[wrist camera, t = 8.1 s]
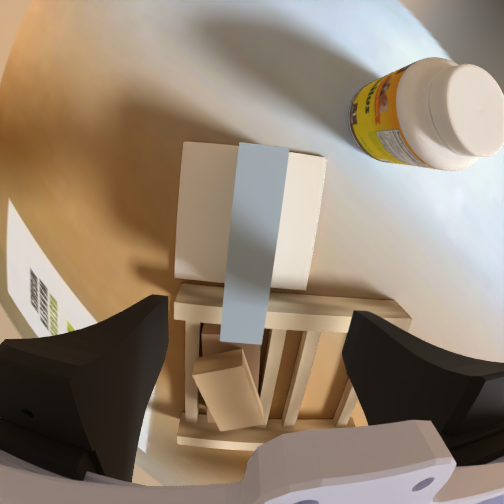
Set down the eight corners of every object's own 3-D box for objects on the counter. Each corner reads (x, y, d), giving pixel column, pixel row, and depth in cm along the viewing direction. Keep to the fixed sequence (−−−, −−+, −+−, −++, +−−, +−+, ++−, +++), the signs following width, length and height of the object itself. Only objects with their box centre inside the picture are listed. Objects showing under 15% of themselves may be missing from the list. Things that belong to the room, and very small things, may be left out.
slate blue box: (225, 283, 21) (219, 341, 15) (240, 146, 19) (239, 142, 12) (255, 286, 22) (261, 344, 15) (272, 150, 19) (289, 148, 12)
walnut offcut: (209, 403, 26) (207, 422, 23) (204, 317, 23) (201, 334, 21) (254, 404, 26) (256, 423, 24) (259, 318, 23) (260, 335, 21)
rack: (182, 420, 26) (177, 444, 23) (182, 283, 22) (174, 302, 19) (348, 425, 27) (356, 447, 24) (395, 300, 23) (412, 318, 20)
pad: (175, 275, 22) (174, 277, 21) (184, 141, 19) (183, 141, 19) (304, 288, 22) (305, 290, 22) (325, 157, 19) (327, 157, 19)
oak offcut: (221, 413, 23) (220, 431, 21) (195, 357, 21) (192, 375, 19) (262, 406, 23) (264, 424, 21) (242, 348, 21) (242, 366, 19)
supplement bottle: (380, 68, 18) (470, 24, 8) (429, 129, 19) (533, 127, 9) (327, 117, 19) (402, 90, 9) (382, 179, 20) (479, 205, 10)
